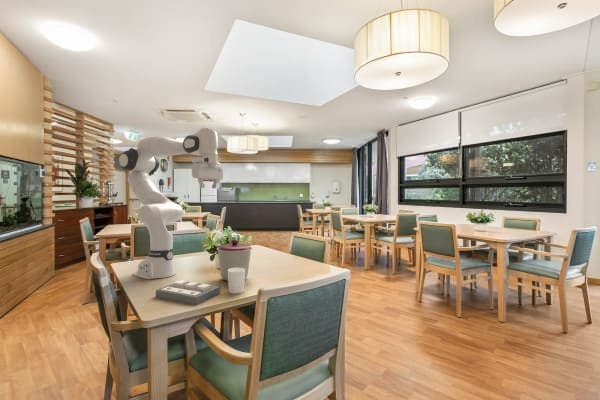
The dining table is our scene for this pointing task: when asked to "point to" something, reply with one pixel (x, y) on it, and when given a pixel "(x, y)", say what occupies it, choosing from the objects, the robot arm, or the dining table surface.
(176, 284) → the button
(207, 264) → the dining table surface
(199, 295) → the button panel
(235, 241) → the canister
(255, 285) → the dining table surface
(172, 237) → the robot arm
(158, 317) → the dining table surface
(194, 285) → the middle button
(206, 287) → the button
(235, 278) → the white cup
